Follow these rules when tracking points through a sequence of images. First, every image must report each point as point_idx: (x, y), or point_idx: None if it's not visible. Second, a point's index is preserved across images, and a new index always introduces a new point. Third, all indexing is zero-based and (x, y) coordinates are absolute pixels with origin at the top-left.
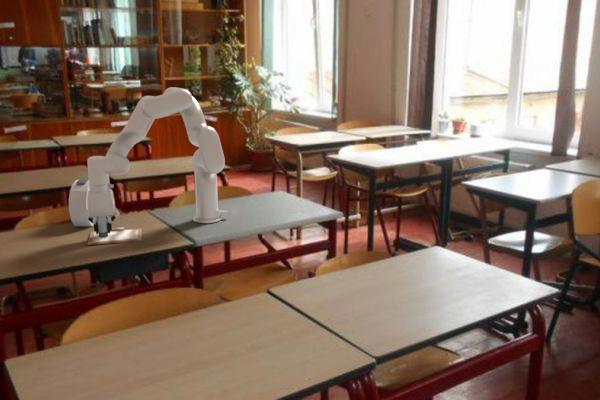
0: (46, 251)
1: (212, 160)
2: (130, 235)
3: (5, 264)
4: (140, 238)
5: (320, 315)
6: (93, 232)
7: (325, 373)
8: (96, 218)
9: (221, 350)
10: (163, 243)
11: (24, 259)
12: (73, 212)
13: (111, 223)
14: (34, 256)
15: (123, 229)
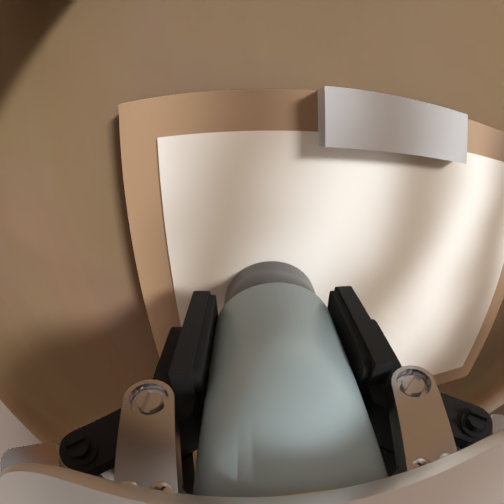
0: (27, 374)
1: None
2: (459, 312)
3: (8, 408)
4: (472, 360)
5: None
6: (145, 137)
7: None
8: (179, 458)
9: None
10: (495, 389)
11: (20, 403)
12: None
13: (399, 364)
14: (26, 397)
15: (456, 162)
